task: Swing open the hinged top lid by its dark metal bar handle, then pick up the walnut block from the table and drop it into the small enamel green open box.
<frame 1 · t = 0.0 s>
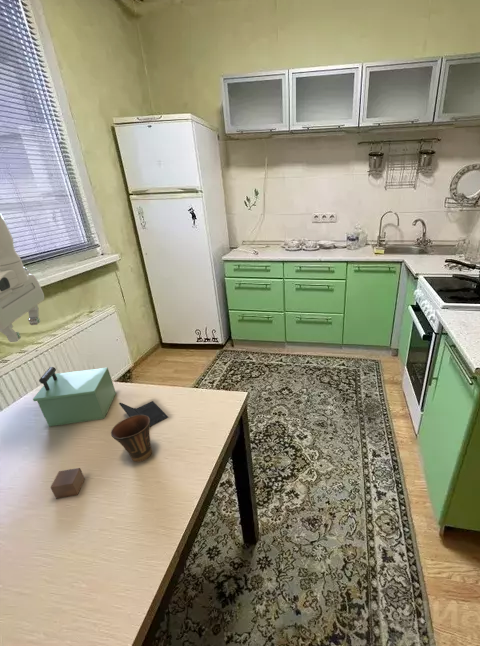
hand: (26, 331, 78), 30 cm above the table, tool pointing down, fingers open, 8 cm apart
machine lid: (70, 377, 93), point 12 cm above the table, hinge at 0.0°
green open box: (85, 410, 98), on the table
block: (72, 490, 73), on the table
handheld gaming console: (146, 419, 95), on the table
cup: (140, 454, 83), on the table
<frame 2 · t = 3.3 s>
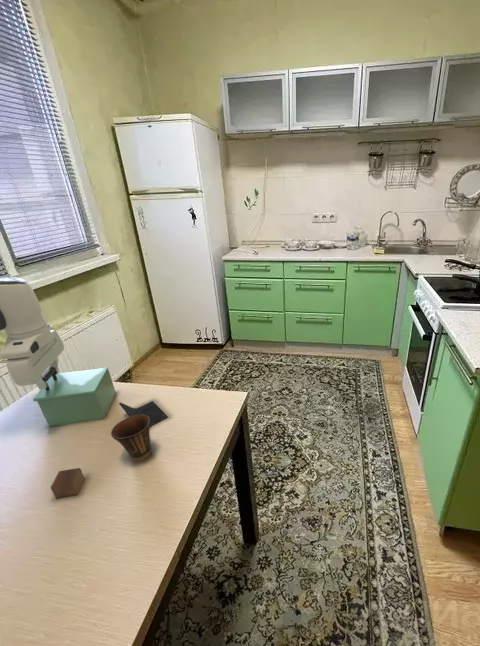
hand: (50, 380, 92), 12 cm above the table, tool pointing down, fingers closed on machine lid, 6 cm apart
machine lid: (70, 377, 93), point 12 cm above the table, hinge at 0.0°, touching gripper
everything else where it was.
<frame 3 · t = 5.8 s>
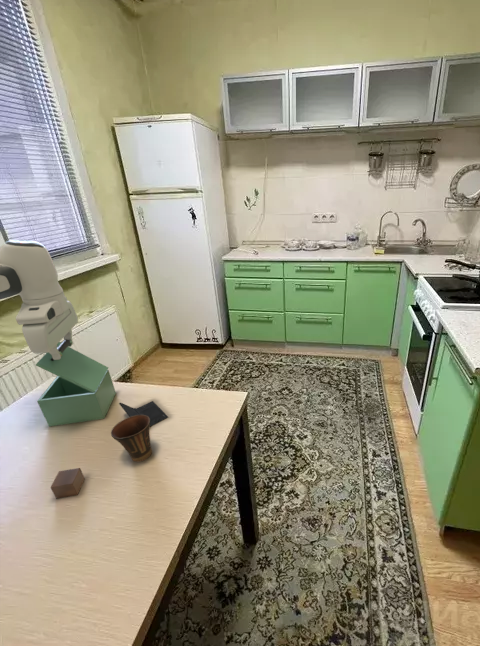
hand: (64, 351, 89), 21 cm above the table, tool pointing down, fingers closed on machine lid, 6 cm apart
machine lid: (79, 361, 91), point 17 cm above the table, hinge at 44.4°, touching gripper
everything else where it was.
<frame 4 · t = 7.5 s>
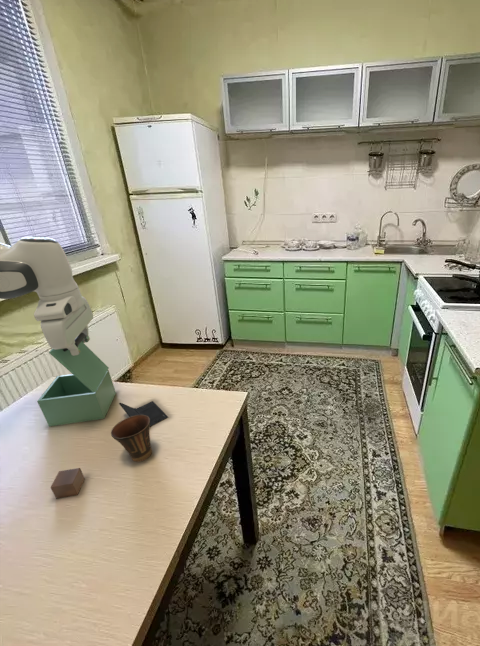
hand: (81, 347, 90), 21 cm above the table, tool pointing down, fingers closed on machine lid, 6 cm apart
machine lid: (88, 357, 91), point 18 cm above the table, hinge at 63.8°, touching gripper
everything else where it was.
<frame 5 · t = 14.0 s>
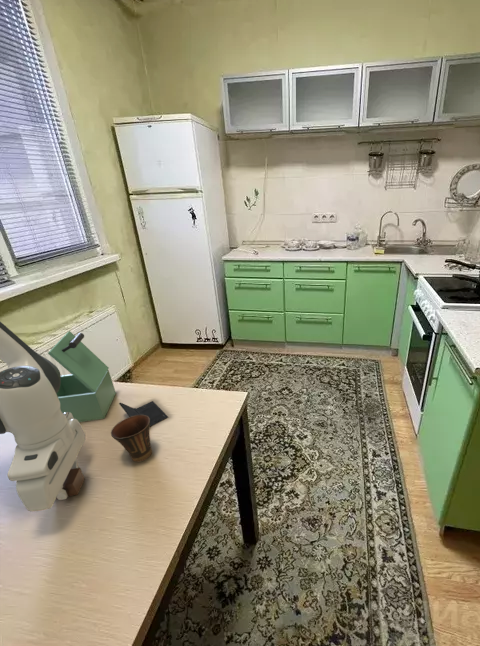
hand: (69, 485, 72), 2 cm above the table, tool pointing down, fingers closed on block, 4 cm apart
machine lid: (87, 357, 91), point 18 cm above the table, hinge at 62.6°
block: (72, 490, 73), on the table, touching gripper
everything else where it was.
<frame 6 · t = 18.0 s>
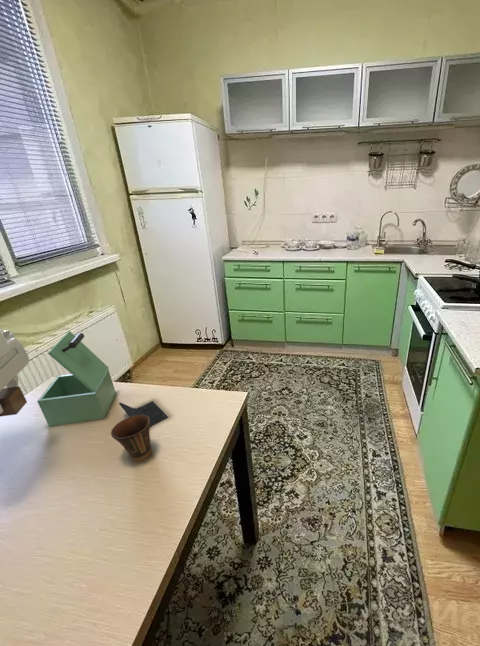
hand: (7, 403, 71), 19 cm above the table, tool pointing down, fingers closed on block, 4 cm apart
block: (11, 409, 72), point 18 cm above the table, touching gripper
everything else where it was.
when the fingers open (12 cm above the table, at t = 22.3 s): block drops 10 cm, resting on green open box.
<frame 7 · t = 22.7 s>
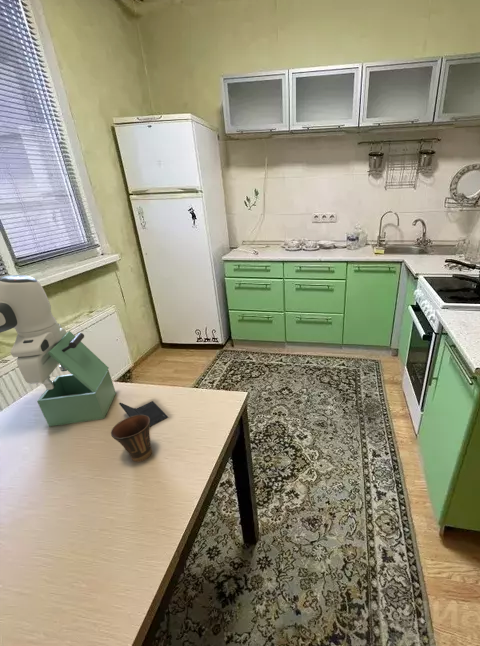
hand: (58, 378, 92), 12 cm above the table, tool pointing down, fingers open, 8 cm apart
block: (72, 410, 98), point 1 cm above the table, touching green open box
everything else where it was.
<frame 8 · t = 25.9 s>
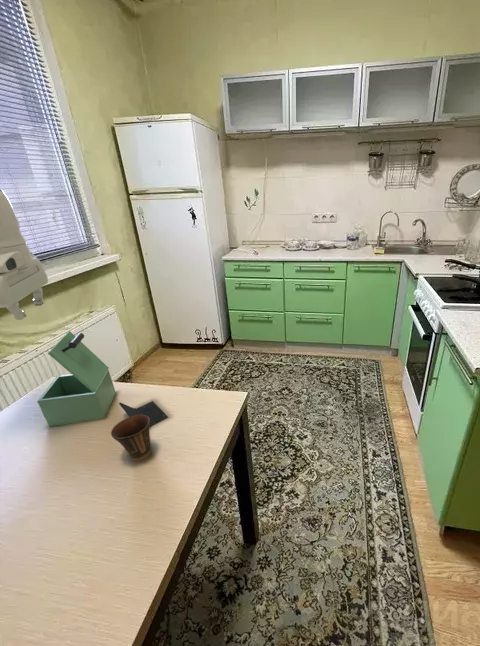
hand: (31, 311, 83), 33 cm above the table, tool pointing down, fingers open, 8 cm apart
nothing on the table moved.
at the end: machine lid at +63° (first picture: +0°); block inside the target area in the green open box (3.5 cm from its centre), point 0.8 cm above the green open box's base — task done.
